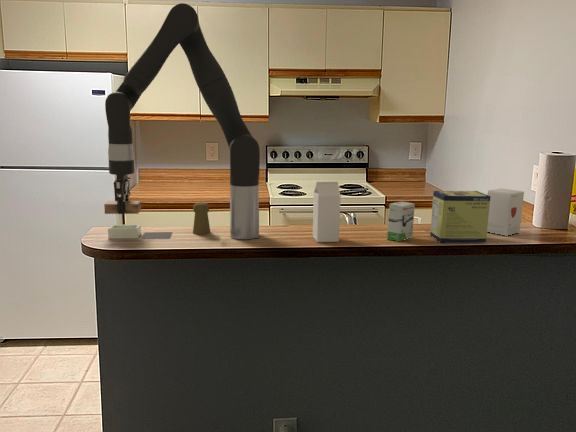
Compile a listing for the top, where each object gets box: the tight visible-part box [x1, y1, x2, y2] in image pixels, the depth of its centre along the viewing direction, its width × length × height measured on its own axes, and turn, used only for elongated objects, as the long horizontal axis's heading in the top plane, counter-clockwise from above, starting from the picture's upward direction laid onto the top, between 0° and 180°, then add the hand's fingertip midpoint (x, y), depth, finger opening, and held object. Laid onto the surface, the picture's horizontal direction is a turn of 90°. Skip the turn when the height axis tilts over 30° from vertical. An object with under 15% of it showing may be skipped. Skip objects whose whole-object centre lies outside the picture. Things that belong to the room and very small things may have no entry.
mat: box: [140, 231, 173, 240], centre depth 168 cm, size 9×9×1 cm
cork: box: [192, 201, 211, 236], centre depth 172 cm, size 6×6×11 cm
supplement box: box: [487, 188, 525, 237], centre depth 182 cm, size 9×9×15 cm
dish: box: [107, 224, 142, 239], centre depth 167 cm, size 9×6×4 cm, turn 97°
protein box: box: [429, 190, 490, 243], centre depth 172 cm, size 10×16×16 cm
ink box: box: [386, 200, 416, 242], centre depth 172 cm, size 9×5×12 cm, turn 137°
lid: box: [104, 200, 142, 215], centre depth 165 cm, size 10×6×3 cm, turn 97°
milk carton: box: [312, 181, 342, 243], centre depth 168 cm, size 7×7×19 cm
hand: (123, 211), depth 165 cm, fingers closed on lid, 6 cm apart
